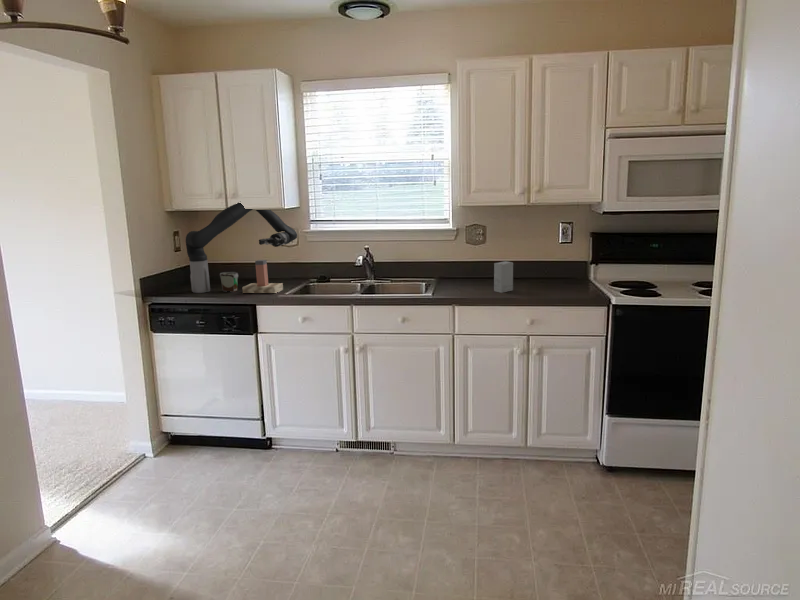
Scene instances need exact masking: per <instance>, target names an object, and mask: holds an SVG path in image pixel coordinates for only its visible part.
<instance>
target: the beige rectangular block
mask: <svg viewBox="0 0 800 600" xmlns="http://www.w3.org/2000/svg"><path fill="white" fill-rule="evenodd" d="M283 284H284V283H283V282H281V283H279V282H277V283H276V282H274V283H273V282H271V283H270V282H268V285H267V286H257V282H253V283H252V282H251V283H249V284H247V285H244V286H242V294H243V293H276V294H277V292H278V293H279V292H281V291H284V285H283Z"/></svg>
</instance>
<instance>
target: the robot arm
mask: <svg viewBox="0 0 800 600" xmlns="http://www.w3.org/2000/svg"><path fill="white" fill-rule="evenodd" d="M252 210H254V209H245V208H244V206H243V205H242V204H241V203H239V202H237V204H236V203H235V204H232V205H230V206H227V207H226V208H224V209H223V210H222V211H220V212H219V213H218V214H216V215H215V217H214V218H213V219H212V220H211V222H210V223H209V224H207V225H206V226H204V227H203V228H202V229H200V230H191V231H189V232H188V233H187V234H186V236H185V246H186V253H187V254H186V255H187V257H188V259H189V267H190V268H189V270H190V275H189V277H190V286H191V292H193V293H194V294H195V293H196V294H201V293H202V294H203V293H208V292H211V284H210V273H209V264H208V262H209V261H208V255H207V254H206V252H205V250H204V248H205V247H206V246H207V245H208V244H210V242H212V240H213V239H215V238H216V237H217V236H218V235H220V234H222V233H223V232H224V231H226V230H228V229H229V228H230V227H232V226H233V225H235V223H237V222H238V221H239V220H240V219H242V218H243V217H244V216H246V215H247V214H248V213H249V212H251V211H252ZM255 211H256V212H257V213H258V214H259V215H260V216H261V217H262V218H264V220H265V221H266V222H267V223H268V225H270V226H271V228H272V229H274V231H275V232H276V233H273V234H271V235H270V236H269V237H267V238H261V239H260V238H259V240H258V243H259V244H258V245H261V246H263V245H270V246H273V247H274V248H275V247H276V248H278V247H281V246H283V245H288V244H290V243H291V242H293V241H294V240H297V238H298V233H297V231H296V230H294V228H292V227H291V226H289V225H288V224H287V223H285V222H284V221H283V220H282V219H281V217H280V216H278V214H276V213H275V212H274V211H273V210H271V209H270V210H255Z"/></svg>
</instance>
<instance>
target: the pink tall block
mask: <svg viewBox="0 0 800 600" xmlns="http://www.w3.org/2000/svg"><path fill="white" fill-rule="evenodd" d="M254 263H255V274H256V275H255V276H256V283H257V286H267V285H268V283H269V276H268V263H267V259H258V260H255V262H254Z"/></svg>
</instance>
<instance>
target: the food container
mask: <svg viewBox="0 0 800 600" xmlns="http://www.w3.org/2000/svg"><path fill="white" fill-rule="evenodd" d="M219 278H220V281H221V289H222V292H227V291H230V292H229V293H237V292H238V289H239V288H238V286H239V285H238V278H239V273H238V272H236V271H224V272H220V273H219ZM236 291H237V292H236Z"/></svg>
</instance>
